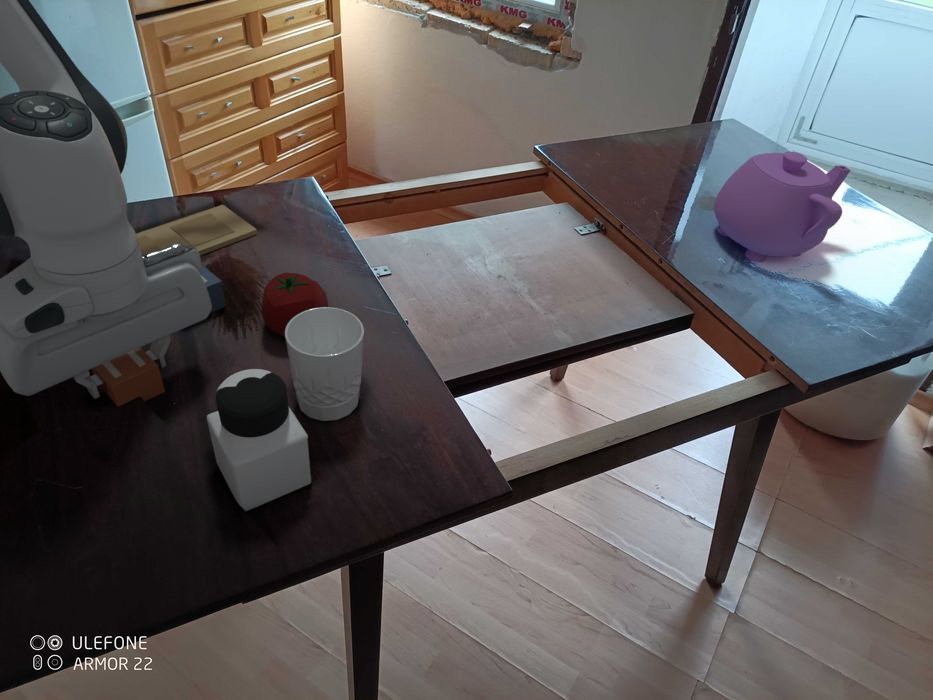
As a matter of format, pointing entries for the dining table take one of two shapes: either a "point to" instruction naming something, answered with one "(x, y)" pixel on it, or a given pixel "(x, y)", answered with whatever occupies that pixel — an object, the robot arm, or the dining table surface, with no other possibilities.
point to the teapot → (779, 205)
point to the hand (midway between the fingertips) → (128, 379)
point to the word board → (198, 231)
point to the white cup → (326, 361)
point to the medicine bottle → (258, 438)
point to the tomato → (290, 299)
